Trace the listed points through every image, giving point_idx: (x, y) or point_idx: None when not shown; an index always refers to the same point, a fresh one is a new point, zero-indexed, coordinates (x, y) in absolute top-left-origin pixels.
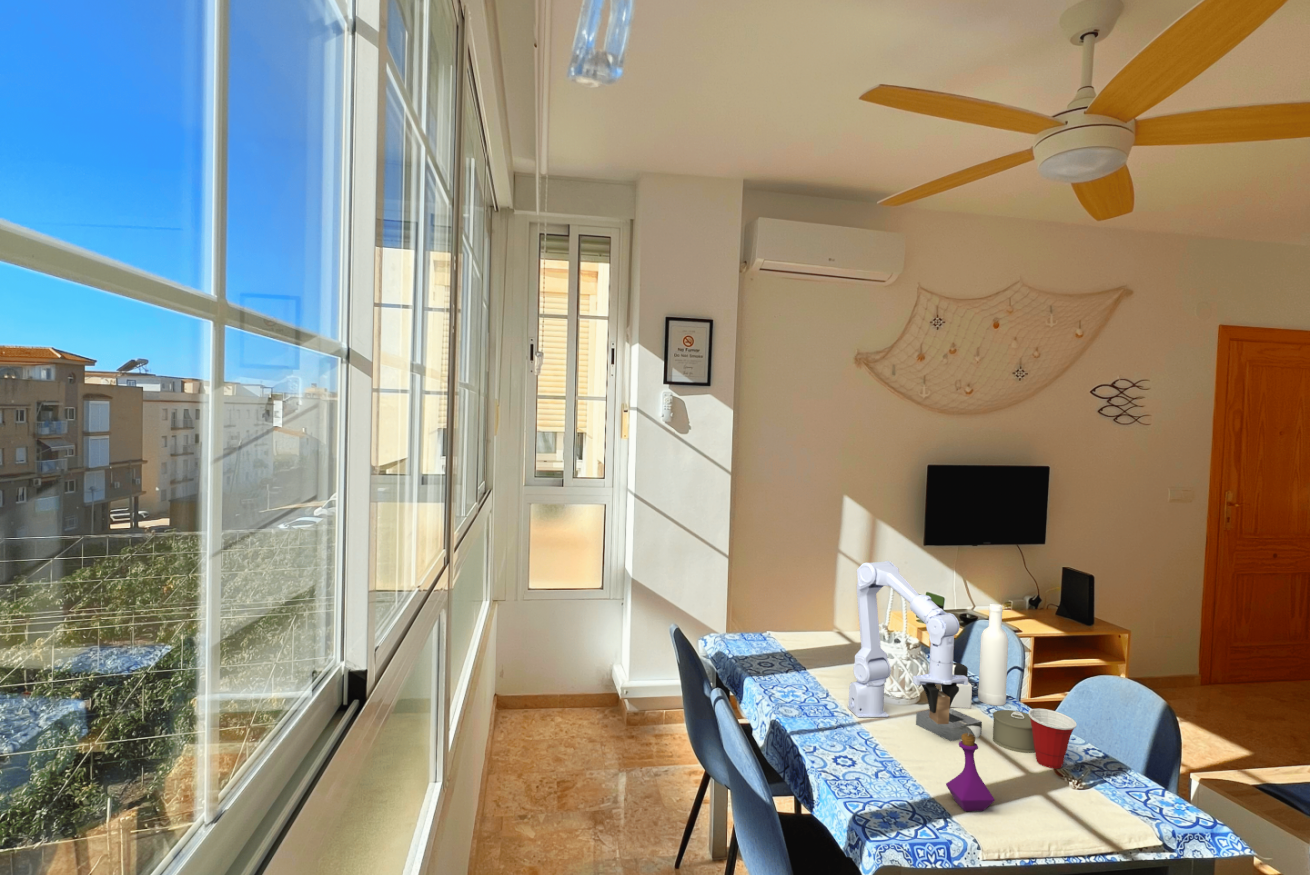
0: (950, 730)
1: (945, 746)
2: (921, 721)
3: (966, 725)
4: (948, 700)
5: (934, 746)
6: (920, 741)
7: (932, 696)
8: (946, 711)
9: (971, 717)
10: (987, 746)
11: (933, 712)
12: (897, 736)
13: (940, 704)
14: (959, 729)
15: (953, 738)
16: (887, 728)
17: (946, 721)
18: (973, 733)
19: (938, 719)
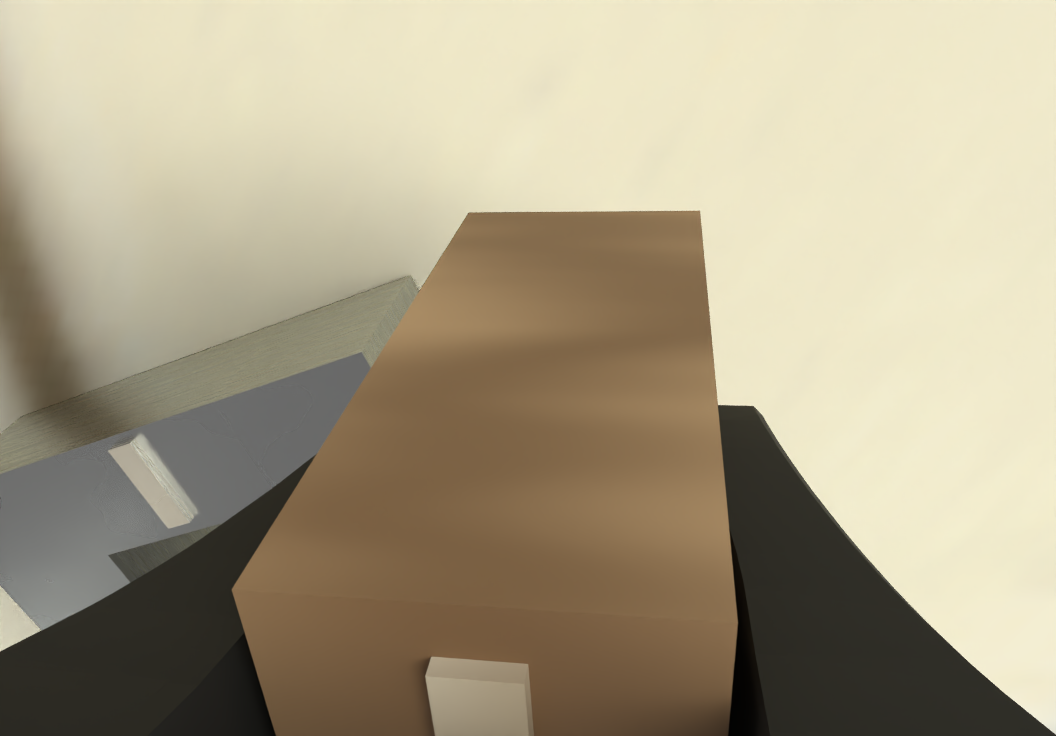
0: (378, 345)
1: (542, 140)
2: None
3: (126, 428)
4: (337, 509)
5: (695, 143)
6: (798, 294)
7: (1024, 728)
8: (477, 320)
9: (18, 596)
10: (15, 128)
11: (755, 411)
12: (1008, 435)
13: (655, 439)
14: (242, 377)
15: (363, 301)
16: (975, 611)
17: (507, 227)
18: (94, 398)
19: (692, 243)
